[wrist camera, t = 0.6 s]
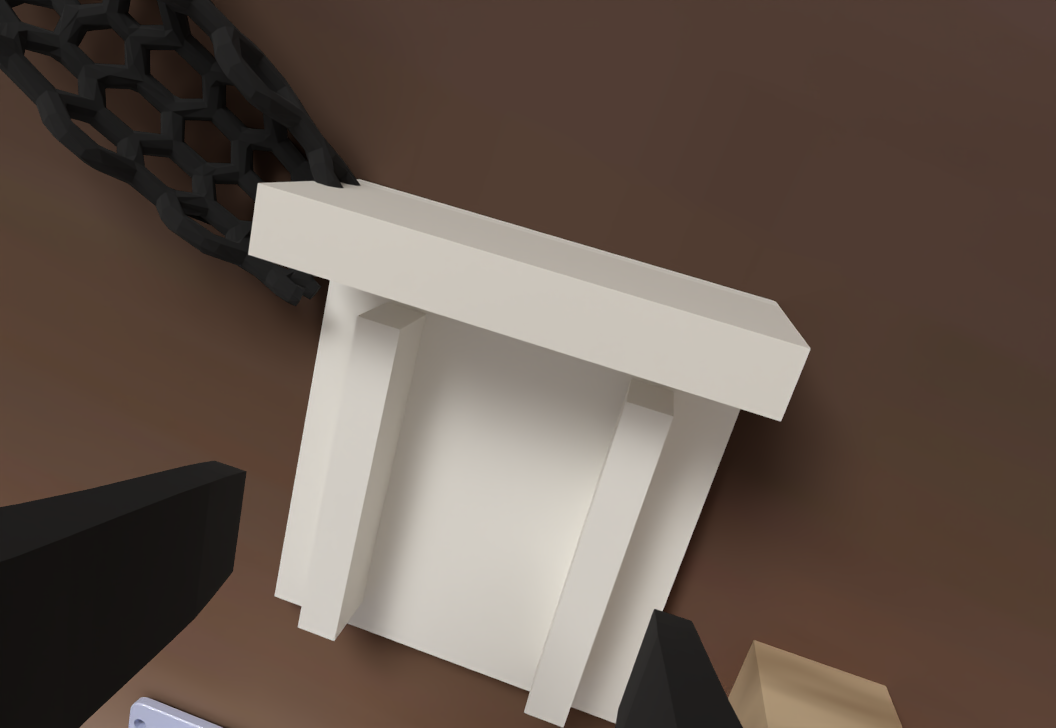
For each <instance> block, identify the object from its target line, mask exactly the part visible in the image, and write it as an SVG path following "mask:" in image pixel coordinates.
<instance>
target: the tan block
mask: <svg viewBox="0 0 1056 728" xmlns="http://www.w3.org/2000/svg"><path fill="white" fill-rule="evenodd" d="M728 700H729V702H730V703H731V705H732V707H733V709H734V711H735V713H736V715H737V717H738V719H739V721H740V723H741V725H742V727H743V728H902V725H901V723H900V720H899V718H898V715H897V713H896V710H895V708H894V705H893V703H892V700H891V698H890V695H889V693H888V691H887V688H886V686H884V685H881V684H878V683H875V682H872V681H870V680H867V679H864V678H861V677H858V676H855V675H852V674H849V673H847V672H844V671H841V670H838V669H835V668H832V667H829V666H827V665H824V664H821V663H818V662H815V661H812V660H809V659H807V658H804V657H801V656H798V655H795V654H792V653H789V652H787V651H784V650H781V649H778V648H775V647H772V646H769V645H767V644H764V643H761V642H758V641H755V640H754V641H753V643H752V645H751V647H750V650H749V652H748V654H747V656H746V659H745V661H744V663H743V666H742V668H741V670H740V672H739V675H738V677H737V679H736V682H735V684H734V686H733V688H732V691H731V693H730V695H729V697H728Z"/></svg>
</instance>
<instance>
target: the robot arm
mask: <svg viewBox="0 0 1056 728" xmlns="http://www.w3.org/2000/svg"><path fill="white" fill-rule="evenodd" d="M245 478H246V471H244V470H241V469H238V468H235V467H232V466H229V465H226V464H223V463H220V462H217V461H210V462H204V463H198V464H193V465H188V466H184V467H179V468H175V469H171V470H166V471H162V472H158V473H154V474H150V475H146V476H142V477H138V478H133V479H129V480H125V481H121V482H117V483H113V484H109V485H105V486H100V487H96V488H92V489H88V490H83V491H78V492H74V493H69V494H64V495H59V496H54V497H50V498H45V499H40V500H35V501H31V502H26V503H21V504H16V505H10V506H5V507H0V728H79V727H80V726H81V725H82V724H83V723H84V722H85V721H86V720H87V719H88V718H90V717H91V716H92V715H93V714H94V713H95V712H96V711H97V710H98V709H99V708H100V707H101V706H102V705H103V704H105V703H106V702H107V701H108V700H109V699H110V698H111V697H112V696H113V695H114V694H115V693H116V692H117V691H118V690H119V689H121V688H122V687H123V686H124V685H125V684H126V683H127V682H128V681H129V680H130V679H131V678H132V677H133V676H134V675H136V674H137V673H138V672H139V671H140V670H141V669H142V668H143V667H144V666H145V665H146V664H147V663H148V662H149V661H151V660H152V659H153V658H154V657H155V656H156V655H157V654H158V653H159V652H160V651H161V650H162V649H163V648H164V647H165V646H166V645H167V644H169V643H170V642H171V641H172V640H173V639H174V638H175V637H176V636H177V635H178V634H179V633H180V632H181V631H182V630H183V629H184V628H185V627H186V626H187V625H188V624H189V623H190V622H191V621H192V620H193V619H194V618H195V617H196V616H197V615H198V614H199V613H200V611H201V610H202V609H203V608H204V607H205V605H206V604H207V603H208V602H209V601H210V600H211V598H212V597H213V596H214V595H215V593H216V592H217V591H218V590H219V588H220V587H221V586H222V585H223V583H224V582H225V581H226V579H227V578H228V577H229V576H230V574H231V573H232V572H233V567H234V559H235V552H236V545H237V537H238V530H239V523H240V515H241V508H242V501H243V493H244V486H245ZM129 728H223V727H221V726H218V725H216V724H213V723H211V722H208V721H206V720H203V719H201V718H198V717H196V716H193V715H191V714H188V713H186V712H183V711H181V710H178V709H176V708H173V707H171V706H168V705H166V704H163V703H161V702H158V701H156V700H153V699H151V698H147V697H142V698H139V699H138V700H137V701H136V702H135V703H134V704H133V705H132V706H131V709H130V719H129ZM615 728H743V727H742V725H741V723H740V721H739V719H738V717H737V715H736V713H735V711H734V709H733V707H732V705H731V703H730V702H729V700H728V698H727V695H726V693H725V691H724V689H723V687H722V685H721V683H720V681H719V679H718V677H717V675H716V673H715V670H714V668H713V666H712V664H711V662H710V660H709V657H708V655H707V653H706V651H705V649H704V646H703V644H702V642H701V640H700V637H699V635H698V633H697V631H696V629H695V627H694V625H693V623H692V621H690V620H687V619H684V618H681V617H678V616H675V615H672V614H669V613H666V612H663V611H660V610H657V609H654V610H653V613H652V616H651V619H650V622H649V624H648V627H647V630H646V633H645V635H644V638H643V641H642V644H641V647H640V649H639V652H638V655H637V658H636V661H635V663H634V666H633V669H632V672H631V675H630V677H629V680H628V683H627V686H626V688H625V691H624V694H623V697H622V700H621V702H620V705H619V708H618V713H617V719H616V725H615Z"/></svg>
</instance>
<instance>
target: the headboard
mask: <svg viewBox="0 0 1056 728" xmlns="http://www.w3.org/2000/svg"><path fill="white" fill-rule="evenodd" d="M357 181H358V182H359V184H360V185H361V186H355V185H349V184H345V183H341V182H340V183H341V185H342V186H343V188H335V187H329V186H325V185H322V184H319V183H316V182H315V181H298V182H271V183H258V186H257V193H256V200H255V208H254V215H253V222H252V230H251V237H250V244H249V252H248V255H251V256H254V257H257V258H261V259H264V260H267V261H270V262H273V263H276V264H280V265H283V266H286V267H289V268H292V269H296V270H299V271H302V272H305V273H308V274H312V275H315V276H318V277H321V278H324V279H328V280H330V283H329V288H328V294H327V300H326V305H325V311H324V317H323V323H322V328H321V334H320V340H319V345H318V351H317V357H316V363H315V368H314V374H313V380H312V385H311V391H310V397H309V403H308V408H307V414H306V420H305V425H304V431H303V437H302V442H301V448H300V454H299V460H298V465H297V471H296V477H295V482H294V488H293V494H292V500H291V505H290V511H289V517H288V522H287V528H286V534H285V540H284V545H283V551H282V557H281V562H280V568H279V574H278V579H277V585H276V591H275V597H278V598H281V599H283V600H286V601H289V602H292V603H294V604H297V605H300V606H302V608H301V613H300V618H299V624H298V628H301V629H304V630H306V631H309V632H312V633H314V634H317V635H320V636H322V637H325V638H327V639H330V640H333V641H335V639H336V638H337V637H338V635H339V634H340V632H341V631H342V630H343V628H344V627H345V625H346V624H347V623H348V624H350V625H353V626H356V627H358V628H361V629H364V630H366V631H369V632H372V633H375V634H377V635H380V636H383V637H385V638H388V639H391V640H393V641H396V642H399V643H401V644H404V645H407V646H409V647H412V648H415V649H417V650H420V651H423V652H425V653H428V654H431V655H433V656H436V657H439V658H441V659H444V660H447V661H449V662H452V663H455V664H458V665H460V666H463V667H466V668H468V669H471V670H474V671H476V672H479V673H482V674H484V675H487V676H490V677H492V678H495V679H498V680H500V681H503V682H506V683H508V684H511V685H514V686H516V687H519V688H522V689H524V690H527V691H530V693H529V696H528V700H527V703H526V707H525V711H524V713H526V714H529V715H531V716H534V717H537V718H539V719H542V720H545V721H547V722H550V723H553V724H555V725H558V726H561V727H564V725H565V722H566V719H567V716H568V713H569V710H570V708H571V707H573V708H575V709H578V710H581V711H583V712H586V713H589V714H591V715H594V716H597V717H599V718H602V719H605V720H607V721H610V722H613V723H615V724H616V719H617V713H618V708H619V705H620V702H621V700H622V697H623V694H624V691H625V688H626V686H627V683H628V680H629V677H630V675H631V672H632V669H633V666H634V663H635V661H636V658H637V655H638V652H639V649H640V647H641V644H642V641H643V638H644V635H645V633H646V630H647V627H648V624H649V622H650V619H651V616H652V613H653V610H654V609H657V610H660V611H663V609H664V606H665V604H666V601H667V598H668V596H669V593H670V591H671V588H672V585H673V583H674V580H675V578H676V575H677V572H678V570H679V567H680V565H681V562H682V559H683V557H684V554H685V552H686V549H687V546H688V544H689V541H690V539H691V536H692V533H693V531H694V528H695V526H696V523H697V521H698V518H699V515H700V513H701V510H702V508H703V505H704V502H705V500H706V497H707V495H708V492H709V489H710V487H711V484H712V482H713V479H714V476H715V474H716V471H717V469H718V466H719V463H720V461H721V458H722V456H723V453H724V450H725V448H726V445H727V443H728V440H729V437H730V435H731V432H732V430H733V427H734V424H735V422H736V419H737V417H738V414H739V411H740V409H742V410H745V411H749V412H752V413H755V414H758V415H761V416H765V417H768V418H771V419H774V420H777V421H781V420H782V418H783V415H784V413H785V411H786V408H787V406H788V403H789V401H790V398H791V396H792V393H793V391H794V388H795V386H796V384H797V381H798V379H799V376H800V374H801V371H802V369H803V366H804V364H805V361H806V359H807V357H808V354H809V352H810V347H809V346H808V345H807V343H806V342H805V340H804V339H803V338H802V336H801V335H800V334H799V332H798V331H797V330H796V328H795V327H794V326H793V324H792V323H791V322H790V320H789V319H788V317H787V316H786V315H785V313H784V312H783V311H782V309H781V308H780V307H779V305H778V304H777V303H776V301H773V300H769V299H766V298H762V297H759V296H756V295H752V294H749V293H745V292H742V291H739V290H735V289H732V288H728V287H725V286H722V285H718V284H715V283H711V282H708V281H705V280H701V279H698V278H694V277H691V276H688V275H684V274H681V273H677V272H674V271H671V270H667V269H664V268H660V267H657V266H654V265H650V264H647V263H643V262H640V261H637V260H633V259H630V258H626V257H623V256H620V255H616V254H613V253H609V252H606V251H602V250H599V249H596V248H592V247H589V246H585V245H582V244H579V243H575V242H572V241H568V240H565V239H562V238H558V237H555V236H551V235H548V234H545V233H541V232H538V231H534V230H531V229H528V228H524V227H521V226H517V225H514V224H511V223H507V222H504V221H500V220H497V219H494V218H490V217H487V216H483V215H480V214H477V213H473V212H470V211H466V210H463V209H460V208H456V207H453V206H449V205H446V204H443V203H439V202H436V201H432V200H429V199H426V198H422V197H419V196H415V195H412V194H408V193H405V192H402V191H398V190H395V189H391V188H388V187H385V186H381V185H378V184H374V183H371V182H368V181H364V180H361V179H357Z"/></svg>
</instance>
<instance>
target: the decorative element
mask: <svg viewBox="0 0 1056 728" xmlns="http://www.w3.org/2000/svg"><path fill="white" fill-rule="evenodd" d="M157 1H158V5H159V9H160V14H161V18H162V22H163V25H140V24H139V23H138V22H137V21H136V20H135V19H134V18H133V17H132V16H131V15H130V14H129V13H128V12H129V6H130V0H103V3H95V4H83V5H81V4H80V3H79V1H78V0H0V69H1V70H2V71H3V72H4V73H5V74H6V75H7V76H8V77H9V78H10V79H11V80H12V81H13V82H14V83H15V84H16V85H17V86H18V87H19V88H20V89H21V90H22V91H23V92H24V93H25V94H26V95H27V96H28V97H29V98H30V99H31V100H32V101H33V102H34V103H35V104H36V105H37V108H38V110H39V113H40V116H41V119H42V122H43V124H44V125H45V126H46V127H47V129H48V130H49V131H50V132H51V133H52V135H53V136H54V137H55V138H56V139H57V140H58V141H59V142H61V143H62V144H63V145H64V146H65V147H67V148H68V149H69V150H70V151H71V152H73V153H74V154H75V155H76V156H77V157H78V158H80V159H81V160H82V161H83V162H84V163H86V164H87V165H89V166H91V167H92V168H94V169H96V170H98V171H100V172H103V173H105V174H107V175H110V176H112V177H114V178H117V179H119V180H121V181H124V182H126V183H128V184H130V185H131V186H132V187H133V188H134V189H136V190H137V191H138V192H139V193H141V194H142V195H143V196H144V197H145V198H147V199H148V200H149V201H150V202H152V203H153V204H154V205H155V206H156V208H157V210H158V213H159V215H160V218H161V220H162V221H163V222H164V224H165V225H166V226H167V227H168V229H170V230H171V231H172V232H174V233H175V234H177V235H178V236H180V237H181V238H182V239H184V240H185V241H187V242H188V243H190V244H191V245H192V246H194V247H195V248H197V249H198V250H200V251H201V252H202V253H204V254H207V255H210V256H213V257H216V258H218V259H221V260H224V261H227V262H230V263H233V264H236V265H238V266H239V267H241V268H242V269H244V270H246V271H247V272H249V273H251V274H252V275H254V276H255V277H257V278H258V279H259V280H260V281H261V282H262V283H263V284H264V285H266V286H267V287H268V288H269V289H270V290H271V291H272V292H273V293H275V294H276V295H277V296H279V297H280V298H282V299H283V300H285V301H286V302H288V303H290V304H292V305H294V306H296V305H297V304H298V303H299V301H300V300H301V297H302V295H304V296H305V297H307V298H309V299H311V298H312V297H313V296H315V294H316V293H317V292H318V290H319V289H320V288H321V286H320V285H319V284H318V283H317V282H316V281H315V280H314V278H313V276H312V274H308V273H305V272H302V271H299V270H296V269H292V268H289V267H288V268H289V270H287V269H285V268H283V267H280V266H278V265H275V264H273V263H272V262H270V261H267V260H264V259H261V258H257V257H254V256H251V255H248V252H249V244H250V237H251V230H252V221H241V220H239V219H237V218H236V217H235V216H234V215H232V214H231V213H230V212H229V211H228V210H226V209H225V208H224V207H223V206H221V205H220V204H219V203H218V202H217V198H216V188H215V184H238V185H239V186H240V187H241V188H242V189H243V190H244V191H245V192H246V193H247V194H248V195H249V196H250V197H251V198H252V199H253V200H254V201H255V200H256V193H257V186H258V183H265V182H264V181H263V180H262V179H261V178H260V177H259V176H258V175H257V174H256V173H255V172H254V171H253V150H261V151H271V152H272V153H273V154H274V155H275V156H276V157H277V159H278V160H279V161H280V162H281V163H282V164H283V165H284V167H285V168H286V169H287V170H288V171H289V172H290V174H291V182H298V181H315V182H316V183H319V184H322V185H325V186H329V187H335V188H343V186H342V185H341V183H345V184H349V185H355V186H361V185H360V184H359V182H358V181H357V179H356V178H355V177H354V175H353V174H352V172H351V171H350V170H349V168H348V167H347V165H346V164H345V163H344V161H343V160H342V158H341V157H340V156H339V155H338V154H337V153H336V152H335V150H334V149H333V148H332V147H331V145H330V144H329V143H328V142H327V141H326V139H325V138H324V137H323V136H322V135H321V133H320V132H319V130H318V129H317V127H316V126H315V124H314V123H313V121H312V120H311V118H310V117H309V115H308V114H307V112H306V110H305V108H304V107H303V105H302V103H301V102H300V100H299V99H298V97H297V96H296V94H295V93H294V91H293V90H292V88H291V87H290V85H289V84H288V82H287V81H286V80H285V78H284V77H283V76H282V75H281V74H280V73H279V71H278V70H277V69H276V68H275V67H274V65H273V64H272V63H271V62H270V61H269V60H268V58H267V57H266V56H265V55H264V54H263V52H262V51H261V50H260V49H259V48H258V47H257V46H256V45H255V44H254V43H253V42H252V41H250V40H249V39H248V38H247V37H246V36H244V35H243V34H242V33H241V32H240V31H239V30H238V29H237V28H236V27H235V26H234V25H233V24H232V23H231V22H230V21H229V20H228V19H227V18H226V17H225V16H224V15H223V14H222V13H221V12H220V11H219V10H218V9H217V8H216V7H215V5H214V4H213V3H212V1H211V0H157ZM23 3H28V4H33V5H37V6H42V7H47V8H52V9H55V10H56V12H57V13H58V14H59V15H60V19H59V22H58V24H57V26H56V28H55V30H54V32H53V31H49V30H46V29H43V28H39V27H36V26H33V25H30V24H26V23H23V22H21V21H20V19H19V18H18V16H17V15H16V14H15V12H14V11H13V10H12V7H15V6H18V5H20V4H23ZM187 15H188V16H189V17H190V18H191V19H192V20H193V21H194V22H195V23H196V24H197V25H198V26H199V27H200V28H201V29H202V30H203V31H204V32H205V33H206V34H207V35H208V36H209V37H210V39H211V41H212V43H213V46H214V54H215V57H214V56H213V55H212V54H211V53H210V52H209V51H208V50H207V49H206V48H205V47H203V46H202V45H201V44H200V43H199V42H198V41H197V40H196V39H195V38H194V37H193V36H192V35H191V32H190V28H189V23H188V18H187ZM102 29H113V30H114V31H115V32H116V33H117V34H118V35H119V36H120V37H121V38H122V39H123V40H124V41H125V65H115V64H97V63H94V62H93V61H92V60H91V59H90V58H89V57H88V56H87V55H86V54H85V53H84V52H83V51H82V50H81V49H80V48H79V47H78V46H79V44H80V43H81V41H82V39H83V37H84V36H85V34H86V32H87V31H92V30H102ZM25 49H26V50H30V51H33V52H37V53H40V54H44V55H48V56H51V57H52V58H54V59H55V60H57V61H59V62H60V63H61V64H62V65H63V66H64V67H65V68H67V69H68V70H69V71H70V72H71V73H72V74H73V75H74V76H75V77H76V78H77V79H78V93H79V95H76V94H72V93H69V92H65V91H62V90H58V89H56V88H55V87H54V86H53V85H52V84H51V83H50V82H49V81H48V80H47V79H46V78H45V77H44V76H43V75H42V74H41V73H40V72H39V71H38V70H37V69H36V68H35V67H34V66H33V65H32V64H31V62H30V61H29V60H28V59H27V58H26V57H25V56H24V53H25ZM150 50H175V51H176V52H177V53H178V54H179V55H180V56H181V57H183V58H184V59H185V60H186V61H187V62H188V63H189V64H190V65H191V66H192V67H193V68H194V69H195V70H196V71H197V72H198V73H199V74H200V75H201V76H202V90H203V99H181V98H179V97H177V96H175V95H173V94H172V93H171V92H170V91H169V90H168V89H166V88H165V87H164V86H163V85H162V84H161V83H160V82H159V81H157V80H156V79H155V78H154V77H153V76H152V75H151V74H150ZM226 85H232V86H235V87H236V88H237V89H238V90H239V91H240V93H241V94H242V95H243V96H244V97H245V98H246V100H247V101H248V102H249V103H250V104H251V105H253V106H254V107H255V108H257V109H258V110H259V111H261V112H262V113H263V118H264V128H265V129H251V128H247V127H246V126H245V125H244V124H243V123H242V122H241V121H240V120H239V119H238V118H237V117H236V116H235V115H234V114H233V113H232V112H231V111H230V110H229V109H228V108H227V107H226ZM106 88H116V89H131V90H134V91H136V92H139V93H140V94H141V95H142V96H143V97H144V98H145V99H146V100H147V101H148V102H149V103H150V104H152V105H153V106H154V107H155V108H156V109H157V110H158V111H159V112H160V113H161V134H156V133H148V132H140V131H133V130H132V129H131V128H129V127H128V126H127V125H126V124H125V123H124V122H122V121H121V120H120V119H119V118H118V117H117V116H115V115H114V114H113V113H112V112H111V111H110V110H108V109H107V108H106V95H105V89H106ZM70 118H72V119H76V120H80V121H83V122H86V123H89V124H90V125H91V126H93V127H94V128H95V129H96V130H97V131H99V132H100V133H101V134H102V135H103V136H105V137H106V138H107V139H108V140H109V141H111V142H112V143H113V144H114V145H115V146H117V153H115V152H113V151H110V150H108V149H106V148H104V147H101V146H99V145H98V144H97V143H96V142H95V141H93V140H92V139H91V138H90V137H89V136H88V135H86V134H85V133H84V132H83V131H82V130H81V129H80V128H78V127H77V126H76V125H75V124H74V123H73V122H72V121H71V119H70ZM185 120H201V121H211V122H212V123H213V124H214V125H215V126H216V127H217V128H218V129H219V130H220V131H221V132H222V133H223V134H224V135H225V136H226V137H227V138H228V139H229V140H230V141H231V163H207V162H206V161H205V160H204V159H203V158H202V157H201V156H200V155H198V154H197V153H196V152H195V151H194V150H193V149H192V148H191V147H189V146H188V145H187V144H186V143H185V142H184V135H185ZM287 128H288V130H289V131H290V132H291V133H292V135H293V136H294V137H295V138H296V140H297V141H298V142H299V143H300V145H301V146H302V147H303V148H304V150H305V153H306V155H307V158H308V161H309V162H308V161H307V160H306V159H305V158H304V157H303V156H302V154H301V153H300V152H299V151H298V150H297V148H296V147H295V146H294V145H293V143H292V142H291V141H290V140H289V139H288V137H287ZM143 155H150V156H159V157H168V158H170V159H171V160H172V161H173V162H174V163H176V164H177V165H178V166H179V167H180V168H181V169H182V170H183V171H185V172H186V173H187V174H188V175H189V176H190V177H191V178H192V192H193V193H190V192H184V191H178V190H174V189H172V188H169V187H167V186H166V185H165V184H164V183H163V182H162V181H160V180H159V179H158V178H157V177H156V176H155V175H154V174H152V173H151V172H150V171H149V170H148V169H147V168H145V164H144V156H143ZM340 182H341V183H340ZM188 216H189V217H192V218H195V219H197V220H200V221H202V222H205V223H207V224H210V225H212V226H213V227H214V228H216V229H217V230H218V231H219V232H221V233H222V234H223V235H224V236H225V237H226V238H223V237H220V236H217V235H214V234H213V233H211V232H210V231H208V230H207V229H205V228H204V227H203V226H201V225H200V224H198V223H197V222H195V221H194V220H192V219H191V218H189V217H188Z"/></svg>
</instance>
